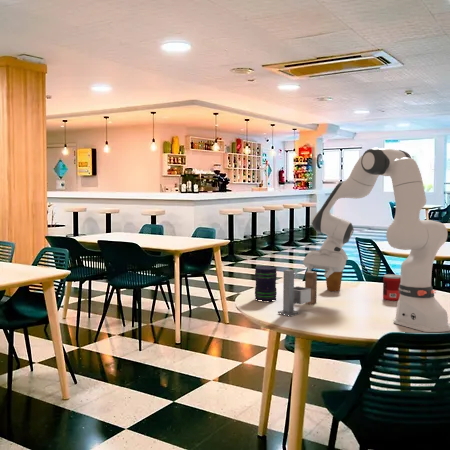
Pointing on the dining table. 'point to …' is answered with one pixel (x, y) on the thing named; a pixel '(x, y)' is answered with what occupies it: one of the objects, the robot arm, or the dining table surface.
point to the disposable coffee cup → (334, 281)
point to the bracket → (293, 294)
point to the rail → (311, 285)
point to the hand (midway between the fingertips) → (316, 275)
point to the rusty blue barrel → (265, 283)
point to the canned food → (391, 287)
